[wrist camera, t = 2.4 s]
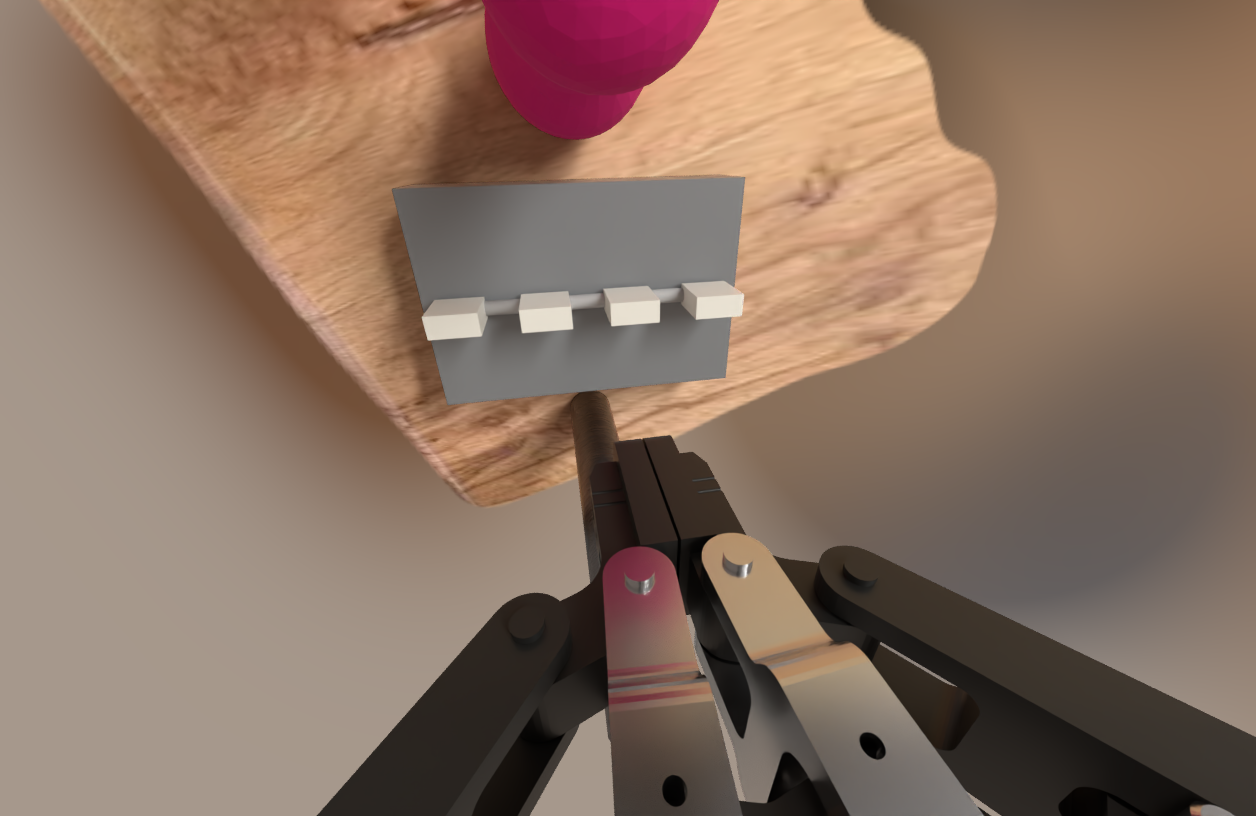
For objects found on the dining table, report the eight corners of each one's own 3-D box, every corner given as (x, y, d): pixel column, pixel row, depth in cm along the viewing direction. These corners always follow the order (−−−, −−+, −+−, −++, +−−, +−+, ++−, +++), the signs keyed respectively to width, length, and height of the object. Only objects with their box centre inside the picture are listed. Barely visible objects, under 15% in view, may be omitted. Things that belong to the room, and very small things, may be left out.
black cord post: (579, 385, 33) (631, 697, 14) (615, 397, 34) (711, 704, 15) (564, 418, 34) (593, 748, 15) (600, 428, 35) (670, 750, 16)
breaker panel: (412, 184, 25) (391, 188, 21) (719, 174, 27) (745, 177, 24) (458, 377, 31) (447, 404, 27) (706, 354, 33) (725, 377, 30)
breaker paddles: (435, 298, 24) (421, 317, 21) (723, 280, 26) (744, 294, 23) (440, 320, 25) (427, 340, 22) (721, 299, 27) (741, 316, 24)
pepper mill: (516, 152, 25) (462, 140, 8) (474, -20, 21) (187, -780, 4) (641, 130, 25) (850, 72, 8) (621, -42, 22) (926, -805, 4)
